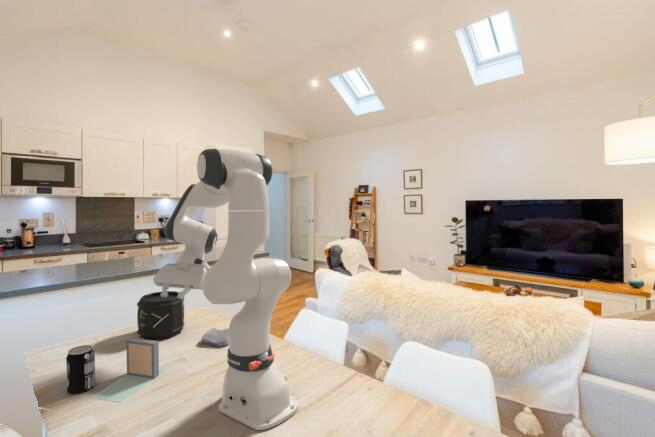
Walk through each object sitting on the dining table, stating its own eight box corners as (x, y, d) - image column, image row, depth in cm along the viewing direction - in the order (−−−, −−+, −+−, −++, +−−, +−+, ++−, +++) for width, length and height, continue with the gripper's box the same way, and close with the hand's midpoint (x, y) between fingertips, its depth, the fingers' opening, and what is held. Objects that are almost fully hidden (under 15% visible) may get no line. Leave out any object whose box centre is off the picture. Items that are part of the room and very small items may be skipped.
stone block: (228, 351, 126) (238, 336, 135) (227, 340, 124) (236, 326, 134) (199, 351, 127) (210, 336, 136) (197, 340, 126) (208, 325, 135)
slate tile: (132, 371, 106) (131, 337, 105) (158, 375, 103) (158, 341, 103) (126, 374, 104) (126, 340, 103) (153, 378, 101) (153, 343, 101)
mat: (166, 371, 107) (166, 370, 107) (120, 403, 89) (120, 402, 89) (140, 367, 109) (140, 366, 109) (90, 398, 92) (90, 397, 92)
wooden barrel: (128, 334, 136) (127, 296, 135) (170, 322, 150) (170, 288, 150) (148, 346, 125) (148, 305, 124) (192, 332, 139) (192, 295, 139)
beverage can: (65, 389, 96) (64, 349, 95) (92, 381, 101) (92, 342, 100) (68, 399, 91) (67, 356, 91) (97, 389, 96) (96, 349, 95)
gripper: (160, 258, 125) (141, 290, 116) (209, 261, 120) (192, 294, 111) (169, 267, 129) (150, 299, 120) (215, 270, 125) (200, 304, 116)
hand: (171, 297), depth 116 cm, fingers open, 5 cm apart
